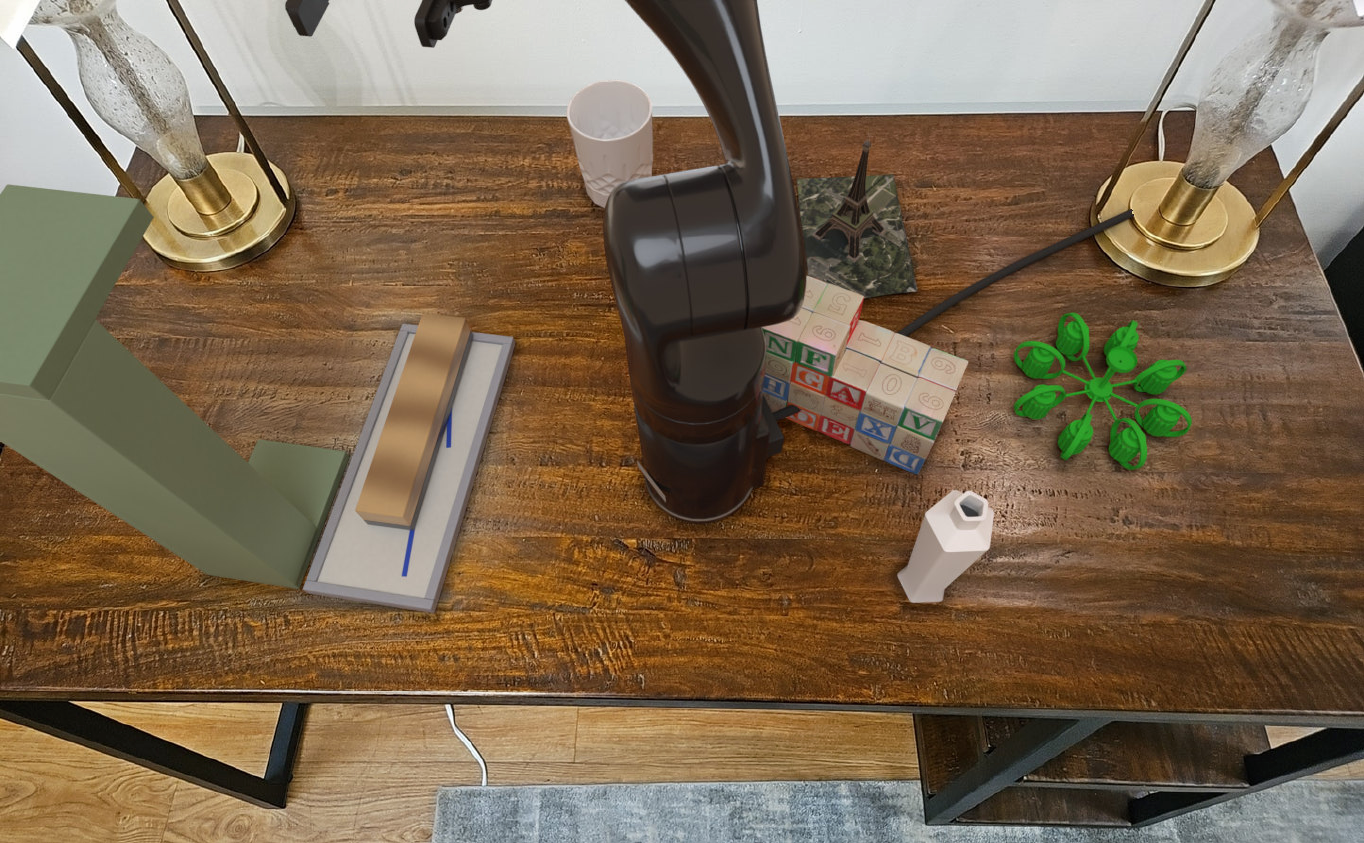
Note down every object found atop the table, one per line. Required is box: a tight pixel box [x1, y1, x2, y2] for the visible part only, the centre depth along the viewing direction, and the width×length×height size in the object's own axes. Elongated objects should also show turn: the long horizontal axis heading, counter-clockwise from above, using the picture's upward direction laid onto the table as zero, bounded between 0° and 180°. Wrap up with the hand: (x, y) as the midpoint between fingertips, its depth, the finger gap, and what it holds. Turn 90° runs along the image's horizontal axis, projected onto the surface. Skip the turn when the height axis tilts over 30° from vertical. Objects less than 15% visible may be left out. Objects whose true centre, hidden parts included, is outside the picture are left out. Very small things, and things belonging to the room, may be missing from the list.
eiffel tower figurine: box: [796, 131, 919, 299], centre depth 80 cm, size 15×10×13 cm
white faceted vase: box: [897, 489, 995, 604], centre depth 63 cm, size 5×4×15 cm
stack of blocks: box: [761, 275, 969, 476], centre depth 73 cm, size 21×6×12 cm, turn 62°
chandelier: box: [1013, 311, 1193, 471], centre depth 74 cm, size 15×15×7 cm
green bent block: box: [0, 184, 351, 590], centre depth 60 cm, size 12×8×32 cm, turn 171°
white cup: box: [566, 79, 654, 209], centre depth 86 cm, size 8×8×10 cm
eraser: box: [355, 312, 474, 531], centre depth 75 cm, size 19×4×3 cm, turn 171°
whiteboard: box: [302, 323, 516, 614], centre depth 76 cm, size 26×11×1 cm, turn 171°
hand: (360, 30), depth 58 cm, fingers open, 8 cm apart
